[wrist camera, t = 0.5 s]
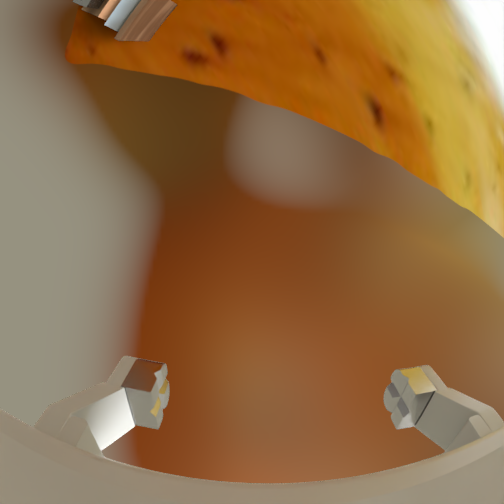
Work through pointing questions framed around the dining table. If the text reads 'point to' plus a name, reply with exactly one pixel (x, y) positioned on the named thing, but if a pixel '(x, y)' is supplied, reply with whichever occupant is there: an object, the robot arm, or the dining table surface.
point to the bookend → (89, 3)
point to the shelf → (133, 17)
